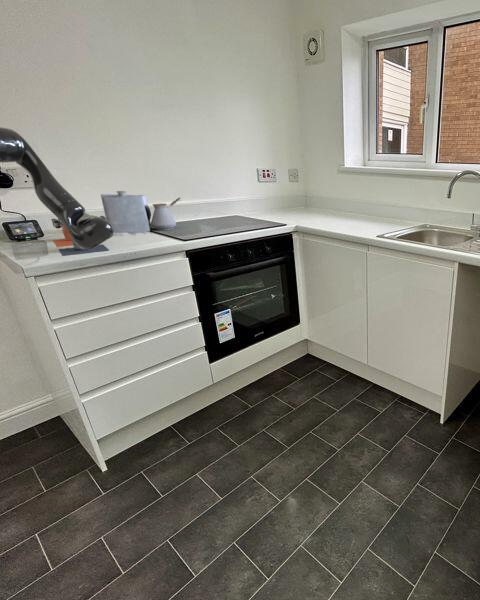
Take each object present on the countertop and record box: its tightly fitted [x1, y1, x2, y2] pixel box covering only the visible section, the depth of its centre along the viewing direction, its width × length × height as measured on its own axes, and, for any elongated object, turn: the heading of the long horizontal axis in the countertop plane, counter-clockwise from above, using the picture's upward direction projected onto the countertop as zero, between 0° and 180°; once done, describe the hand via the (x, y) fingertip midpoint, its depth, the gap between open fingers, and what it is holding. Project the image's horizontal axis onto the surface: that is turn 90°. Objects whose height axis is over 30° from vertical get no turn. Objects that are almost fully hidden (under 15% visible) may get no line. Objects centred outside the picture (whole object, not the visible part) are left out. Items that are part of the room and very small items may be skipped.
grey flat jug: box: [100, 193, 152, 230], centre depth 179 cm, size 19×5×18 cm, turn 105°
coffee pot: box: [150, 197, 181, 231], centre depth 188 cm, size 21×12×15 cm, turn 172°
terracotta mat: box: [53, 238, 74, 248], centre depth 152 cm, size 14×17×1 cm
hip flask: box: [100, 190, 151, 234], centre depth 171 cm, size 16×4×20 cm, turn 131°
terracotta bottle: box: [61, 226, 72, 241], centre depth 151 cm, size 6×6×19 cm
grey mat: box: [58, 243, 110, 257], centre depth 140 cm, size 14×12×1 cm
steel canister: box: [70, 236, 93, 251], centre depth 137 cm, size 6×6×12 cm
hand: (77, 219), depth 128 cm, fingers open, 8 cm apart
